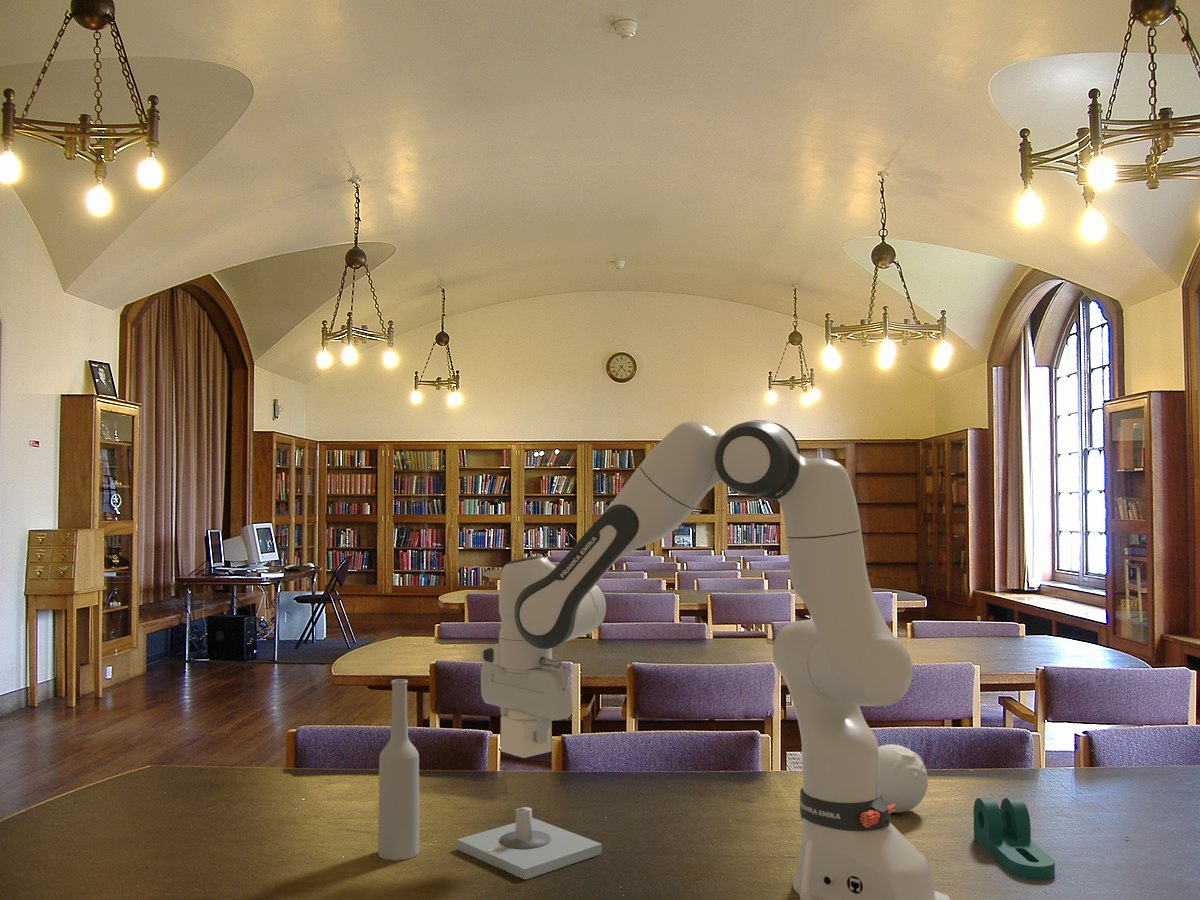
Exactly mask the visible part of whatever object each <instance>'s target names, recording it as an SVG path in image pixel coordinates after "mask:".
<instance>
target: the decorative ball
mask: <svg viewBox="0 0 1200 900" xmlns="http://www.w3.org/2000/svg"><path fill="white" fill-rule="evenodd" d="M878 756H879V792H880V794H881V795H882V797H883V800H884V802H885V804H886V806H889V805H891V804H894V803H895V804H896V806H895V807H894V808H892V810H894V809H896V811H894V812H892V813H893V814H894V813H896V814H899V813H906V812H909V811H911V810H913V809H914V808H915V807H917V806H918V805H919V804H920V803H921V802H922V801H923V800H924V798H925V795H926V793H927V789H928V784H929V782H928V780H929V779H928V774H927V773H928V772H927V771H928V770H927V767H926V765H925V763H924V761H923V759H922V757H921V756H920V755H919V754H918V753H916V752H914V751H913V750H911V749H909V748H907V747H906V746H903V745H899V744H892V743H891V744H884V745H880V746H878Z"/></svg>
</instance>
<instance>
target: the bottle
mask: <svg viewBox="0 0 1200 900" xmlns="http://www.w3.org/2000/svg"><path fill="white" fill-rule="evenodd" d="M408 683H409V681H408V679H404V678H397V679H391V681H390V684H391V689H392V690H391V723H390V724H391V725H390V737H389V738H390V739H389V740H388V742H387V743H386V745H385V746H384V748H382V750H381V751H380V753H379V758H378V759H379V761H378V762H379V763H378V765H379V767H378V815H377V816H378V819H377V820H378V821H377V824H378V826H377V836H378V837H377V843H378V844H377V849H378V850H377V855H378V857H379V858H380V859H381V860H384V861H393V862H394V861H396V862H397V861H404V860H405V861H406V860H410V859H413V858H414V857H415V858H416V856H418V855H419V854H420V753H419V751H418V750H417V748H416V746H414V744H413V743H412V741H411V740H410V738H409V730H408V729H409V726H408V725H409V724H408V688H407V687H408Z"/></svg>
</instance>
